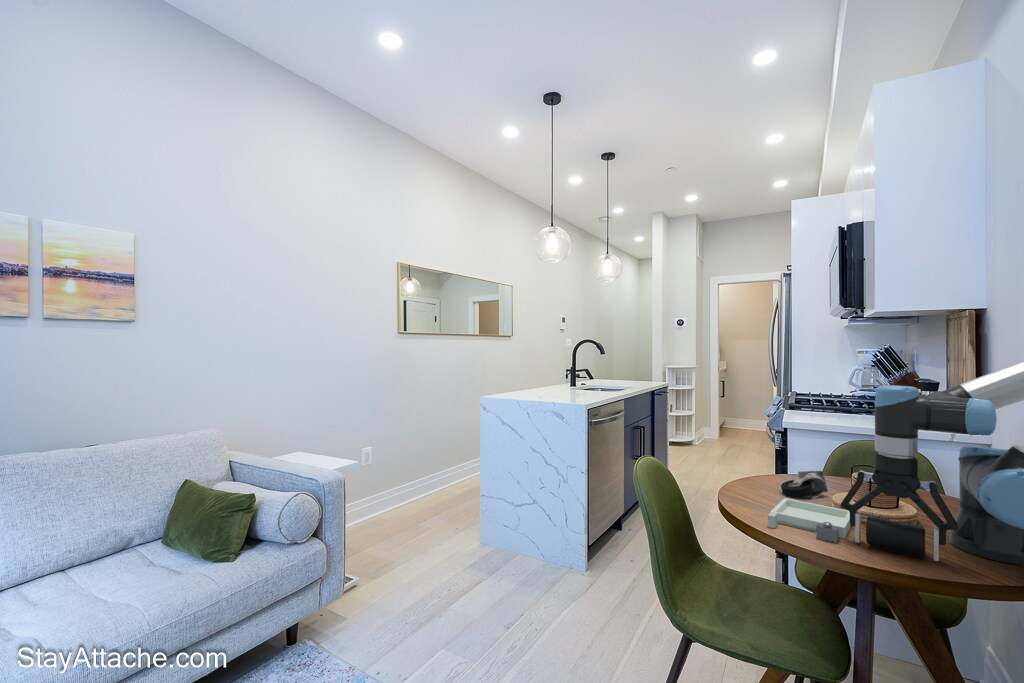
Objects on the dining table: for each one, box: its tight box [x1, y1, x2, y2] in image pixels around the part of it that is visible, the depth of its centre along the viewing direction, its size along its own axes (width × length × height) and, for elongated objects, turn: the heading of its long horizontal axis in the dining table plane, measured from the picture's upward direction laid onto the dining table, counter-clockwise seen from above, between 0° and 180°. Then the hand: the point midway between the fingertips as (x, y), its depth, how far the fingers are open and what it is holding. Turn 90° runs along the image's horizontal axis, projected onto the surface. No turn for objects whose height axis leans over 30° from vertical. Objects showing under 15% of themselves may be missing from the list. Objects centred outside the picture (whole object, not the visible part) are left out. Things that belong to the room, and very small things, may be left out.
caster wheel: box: [780, 470, 829, 499], centre depth 145 cm, size 7×11×10 cm
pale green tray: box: [767, 497, 852, 540], centre depth 122 cm, size 16×20×3 cm
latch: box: [815, 522, 840, 544], centre depth 112 cm, size 4×3×4 cm
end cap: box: [865, 515, 926, 560], centre depth 106 cm, size 10×7×7 cm
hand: (895, 549), depth 106 cm, fingers open, 13 cm apart
